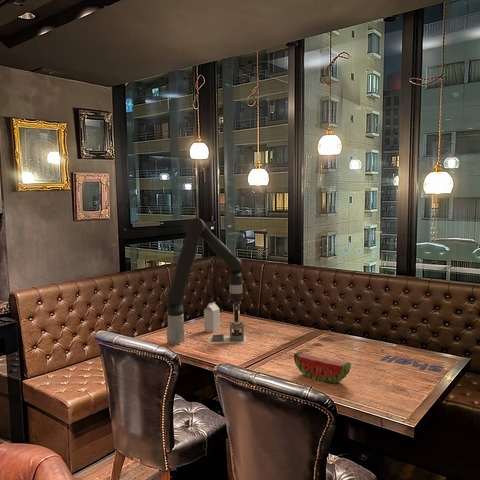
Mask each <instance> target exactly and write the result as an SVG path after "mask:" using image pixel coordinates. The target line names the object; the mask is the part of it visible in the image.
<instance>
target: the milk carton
mask: <svg viewBox="0 0 480 480" xmlns="http://www.w3.org/2000/svg"><path fill="white" fill-rule="evenodd" d="M220 311H221V310H220V308H219V306H218V305H217V304H216V301H214V302H210V303H208V304H207V306H206V307H205V308H204V309H203V317H204V318H203V320H204V321H203V323H204V324H203V325H204V328H203V329H204V332H207V333H216V332H218V331H220V330H221V323H220V322H221V320H220V319H221V317H220V315H221V313H220Z"/></svg>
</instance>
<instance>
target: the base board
mask: <svg viewBox="0 0 480 480" xmlns="http://www.w3.org/2000/svg"><path fill="white" fill-rule="evenodd" d="M212 336H213V335H210V336H209V337H208V344H210V345H212V344H213V345H214V344H217V345H218V344H247V336H246V335H244V341H230V335H224V341H213V342H212Z"/></svg>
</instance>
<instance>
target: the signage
mask: <svg viewBox="0 0 480 480" xmlns="http://www.w3.org/2000/svg"><path fill="white" fill-rule="evenodd" d="M379 361H381V362H386V363H392V362H393V361H394V364H395V363H396V364H401V365H410V364H411V366H412V367H416V368H417V367H419V368H418V369H419V370H423V371H424V370H425V369H427V370H428V371H432V372H441V371H442V369H444V368H445V367H444V366H442V365H441V366H440V365H437V364H429V363H427V362H425V363H424V364H422V363H421V364H420V363H419V361H417V360H414V361H413V359H408V358H405V357H404V358H403V357H402V358H401V357H400V358H399V357H397V356H392V357H391V355H389V354H387V355H385V356H384V357H382V358H381V359H380V360H379ZM412 361H413V362H412ZM428 366H429V367H428Z"/></svg>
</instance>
